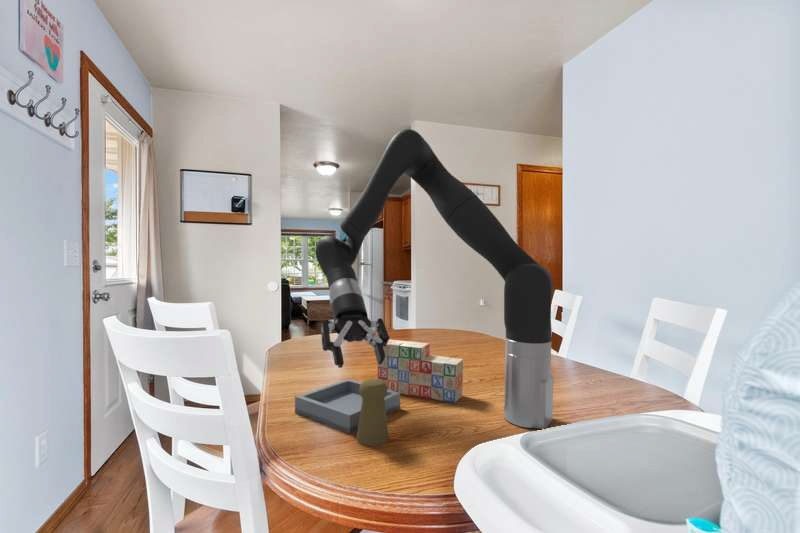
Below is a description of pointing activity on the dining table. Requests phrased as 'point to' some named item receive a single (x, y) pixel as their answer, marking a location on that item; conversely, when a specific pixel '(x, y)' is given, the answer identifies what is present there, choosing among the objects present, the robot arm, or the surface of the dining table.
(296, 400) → the tray
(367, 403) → the cork
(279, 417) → the dining table surface
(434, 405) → the dining table surface
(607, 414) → the dining table surface
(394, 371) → the stack of blocks
